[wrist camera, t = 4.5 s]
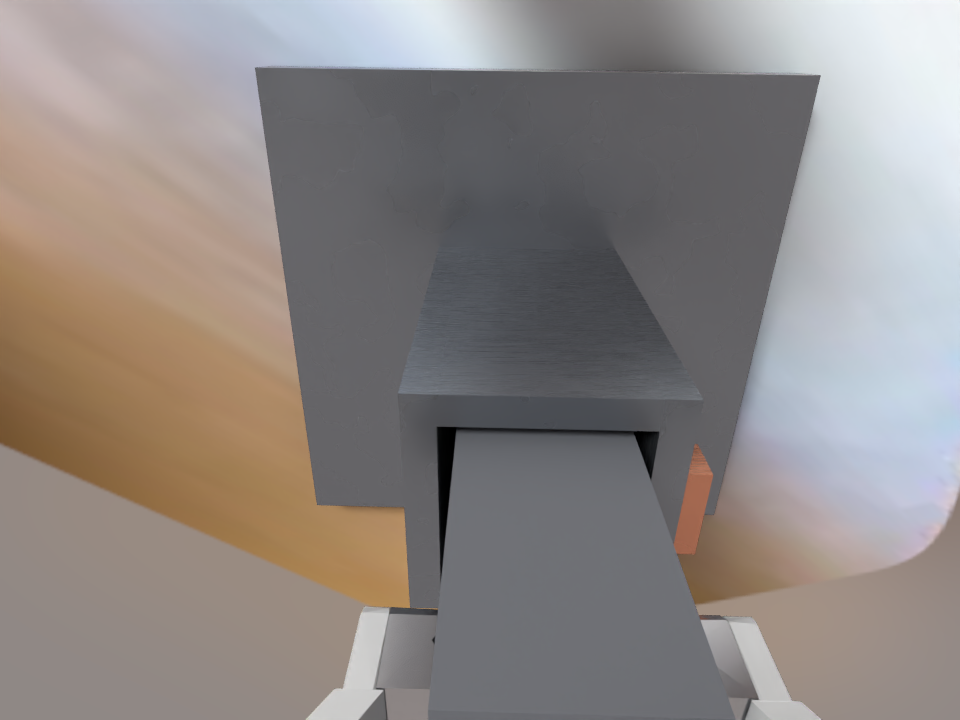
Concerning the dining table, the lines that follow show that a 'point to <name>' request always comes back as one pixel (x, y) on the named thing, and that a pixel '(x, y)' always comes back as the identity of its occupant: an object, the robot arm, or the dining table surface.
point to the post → (564, 587)
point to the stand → (525, 268)
